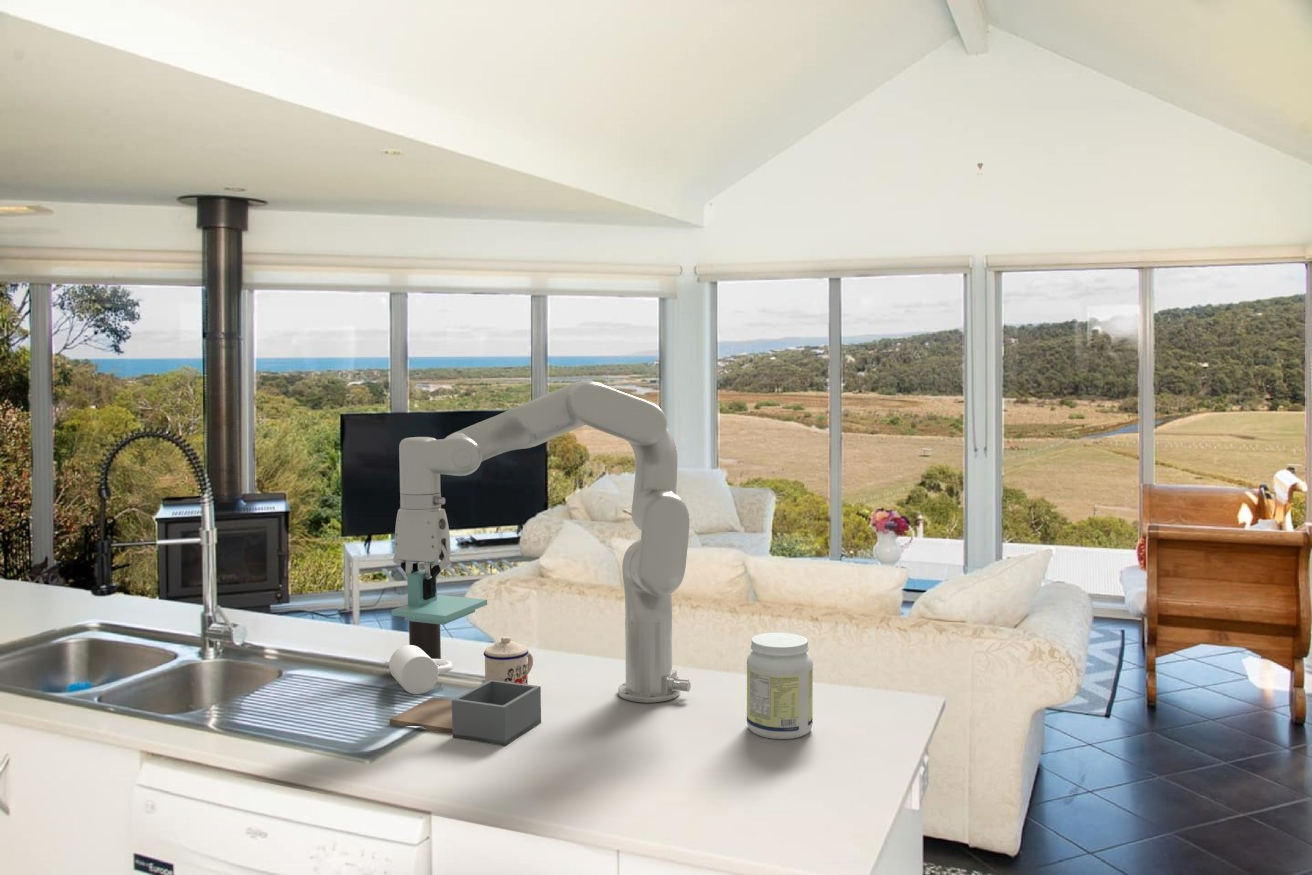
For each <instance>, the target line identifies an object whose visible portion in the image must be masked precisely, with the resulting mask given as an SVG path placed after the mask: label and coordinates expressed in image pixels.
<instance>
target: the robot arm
mask: <svg viewBox="0 0 1312 875" xmlns="http://www.w3.org/2000/svg"><path fill="white" fill-rule="evenodd" d="M585 425H586V426H587V427H590V428H594V429H596V430H598V431H600V432H603V433H606V434H607V435H608V434H609V435H611V436H614V437H616V438H619V439H623V440H625V441H626V442H628V443H629V445H630V446H631V448H632V450H633V453H634V461H635V472H634V473H635V474H634V485H633V496H632V505H631V510H630V511H631V513H630V514H631V519H632V521H633V524H634V525H635V526H636V527H637V528H638V529H639V530H640V531H641V533H640V540H636V541H635V542H633V543H632V544H631V545H629V546H628V548H627V549H626V551H625V553H624V555H623V558H622V567H621V568H622V569H621V570H622V579H623V590H624V609H625V610H624V611H625V619H624V620H625V621H624V626H625V627H624V629H625V632H624V633H625V635H624V636H625V637H624V638H625V639H624V640H625V643H624V645H625V647H624V648H625V682H624V683H621V684H620V685H619V686H618V688H617V693H618V695H619V697H620V698H622V699H625V700H626V701H631V702H635V703H643V704H644V703H646V704H647V703H648V704H649V703H661V702H666V701H671V700H674V699H676V698H677V697H678V696H679V695H680V694H681V693H680V692H681V691H682V692H690V690H691V687H692V686H691V682H690V680H689V678H679V677H678V676H677V675H678V674H677V673H678V671H677V670H676V669H675V670H673V600H672V593H674V592H676V590H677V589H679V587H680V586H681V584H682V583H683V579H684V577H685V572H686V568H687V567H686V566H687V558H688V557H687V556H688V547H689V546H688V545H689V538H690V535H689V534H690V522H691V521H690V514H689V510H688V509H689V508H688V507H687V505H686V503H685V501H684V500H683V499H682V498H681V497H680V496H678V495H677V485H678V484H677V483H678V482H677V481H678V451H677V447H676V442H675V439H674V437H673V435H672V433H671V431H670V429H669V427H668V422H667V416H666V414H665V413H664V411H663V409H661V408H660V407H659V406H658V405H657V404H655V403H653V402H650V401H647V400H645V399H643V398H639V397H636V396H634V395H631V394H629V393H625V392H623V391H620V390H618V389H616V388H613V387H610V386H608V385H605V384H603V383H601V382H597V381H592V380H579V381H575V382H572V383H569V384H567V385H565V386H562V387H561V388H558V389H555V390H553V391H551V392H548V393H547V394H544V395H542V396H540V397H537V398H534V399H532V400H529V401H526V402H524V403H523V404H520V405H517V406H515V407H513V408H509V409H508V410H506V411H503V412H502V413H499V414H497V415H495V416H491V417H489V418H486V419H484V420H482V421H480V422H476V423H474V424H472V425H469V426H467V427H464V428H462V429H461V430H458V431H455V432H452V433H451V434H449V435H447V436H446V437H445V438H442V439H441V438H440V439H436V438H435V437H430V436H414V437H410V436H409V437H405V438H403V439H402V440H401V441H400V442H399V446H398V447H399V448H398V450H399V452H398V453H399V455H398V457H399V493H400V495H399V496H400V497H399V498H400V500H399V504H400V506H399V509H398V510H397V514H396V521H395V526H394V527H395V528H394V529H395V531H394V555H393V559H392V562H393V563H394V564H395V565H398V566H399V567H401V569H402V570H403V571H404V572H405V576H406V578H407V574H410V573H414V572H417V571H420V563H423V564H424V569H425V579H423V598H424V600H428V599H431V598H434V597H435V593H436V577H438V576H439V574H440V573H441V572H442V571H443V570H445V569H447V568H449V567H451V566H452V560H451V555H452V554H451V553H452V552H451V551H452V550H451V536H450V535H451V534H450V528H449V527H450V526H449V523H448V522H449V521H448V517H447V513H446V509H445V508H442V505H445V504H446V498H445V497H442V492H441V475H447V476H457V477H463V476H468V475H471V474H473V473H474V472H476V471H477V470H478V469H479V467H480V465H481V463H482V462H483V461H486V460H488V459H490V458H493V457H496V456H498V455H501V454H503V453H504V454H505V453H506V452H510V451H515V450H521V449H522V450H523V449H530V448H533V447H537V446H539V445H542V444H544V443H546V442H548V441H551V440H552V439H553V440H554V439H556V438H558V437H560V436H562V435H565V434H566V433H569V432H572V431H574V430H577V429H579V428H581V427H583V426H585ZM439 560H440V563H439Z"/></svg>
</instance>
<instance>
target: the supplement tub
mask: <svg viewBox="0 0 1312 875" xmlns="http://www.w3.org/2000/svg"><path fill="white" fill-rule="evenodd" d="M808 642H809V640H808V638H806V637H805V636H803V635H800V634H798V633H796V634H795V633H790V632H764V633H759V634H756V635H755V636H752V638H751V644H750V649H751V651H750V653H749V654H748V655H747V656H746V658H747V659H746V725H747V727H748V729H749V730H750V731H751V732H752V733H753V734H755V735H758V736H760V737H762V738H767V739H772V740H790V739H792V740H793V739H797V738H800V737H801V738H802V737H804V736H806V735H807V734H808V733H809V732H810V731H811V730H812V728H813V724H814V722H813V717H814V716H813V706H814V705H813V701H814V700H813V696H814V695H813V686H814V685H813V678H814V676H813V672H814V671H813V670H814V668H813V667H814V664H813V662H814V661H813V658H812V656H811V655H810V653H808V652H809V649H810V647H809V646H808V645H809V644H808Z"/></svg>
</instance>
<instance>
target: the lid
mask: <svg viewBox="0 0 1312 875" xmlns="http://www.w3.org/2000/svg"><path fill="white" fill-rule="evenodd" d="M437 577H438V576H437ZM437 577H436V593H435V597H434V598H431V599H428V600H424V598H423V579H425V568H423V569H419V571H417V572H414V573H410V574H407V577H406V578H407V580H406V582H407V583H406V584H407V604H405V605H402V606H399V607H396V608H393V609H391V613H390V614H391V616H394V617H395V616H396V617H404V621H407V622H409V621H414V622H423V623H432V624H440V626H442V625H443V626H444V625H447V624H449V623H451V622H454V621H456V620H459V619H461V618H464V617H466V616H469V615H471V614H473V613H476V610H478V609H480V608H483V607H485V606H487V605H488V599H486V598H485V599H484V598H474V597H465V596H464V597H463V596H454V595H453V596H452V595H444V594H443V595H442V594H438V586H437V585H438V584H437V582H438V581H437Z"/></svg>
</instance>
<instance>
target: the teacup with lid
mask: <svg viewBox="0 0 1312 875" xmlns="http://www.w3.org/2000/svg"><path fill="white" fill-rule="evenodd" d="M511 639H512V638H511V637H510V635H509V636H508V635H506V636H505V635H504V636H501V638H500V641H498V642H496V643H495V644H492V645H490V646H487V647H486V648H485V649H484V651H483V656H484V676H485V677H484V679H485V680H484V683H485V682H487V681H489V680H497V681H504V682H512V683H519V684H527V685H529V684H528V683H529V681H528V680H529V679H528V678H529V677H528V676H529V673H530V672H531V671H532V669H533V665H534V656H533V654H532V653H531V652H529V649H528V647H526V646H525V645H524V644H521V643H520V644H519V643H517V642H516V641H513V640H511Z"/></svg>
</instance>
